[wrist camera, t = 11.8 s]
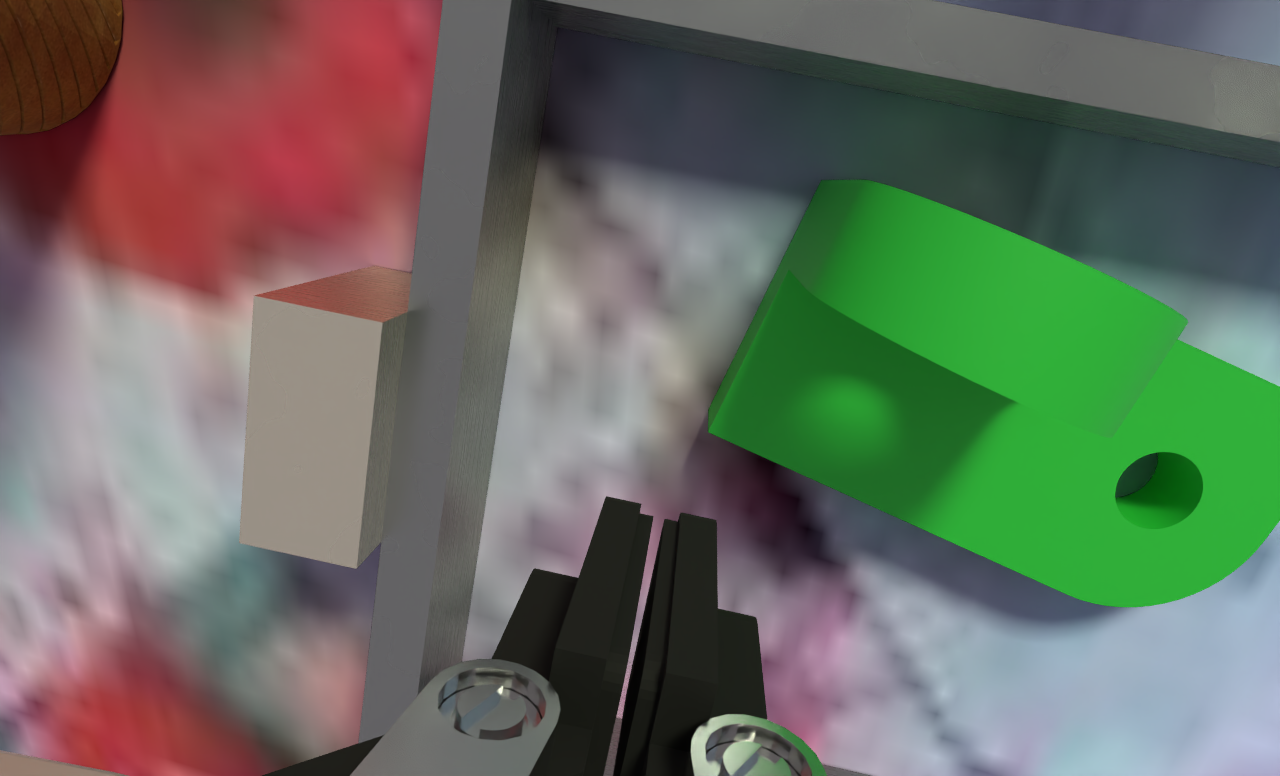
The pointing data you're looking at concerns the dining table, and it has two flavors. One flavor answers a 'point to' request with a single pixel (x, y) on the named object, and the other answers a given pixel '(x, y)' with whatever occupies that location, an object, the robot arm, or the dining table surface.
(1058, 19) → the dining table surface
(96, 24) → the disposable coffee cup
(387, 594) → the drawer frame
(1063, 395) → the mechanical part
